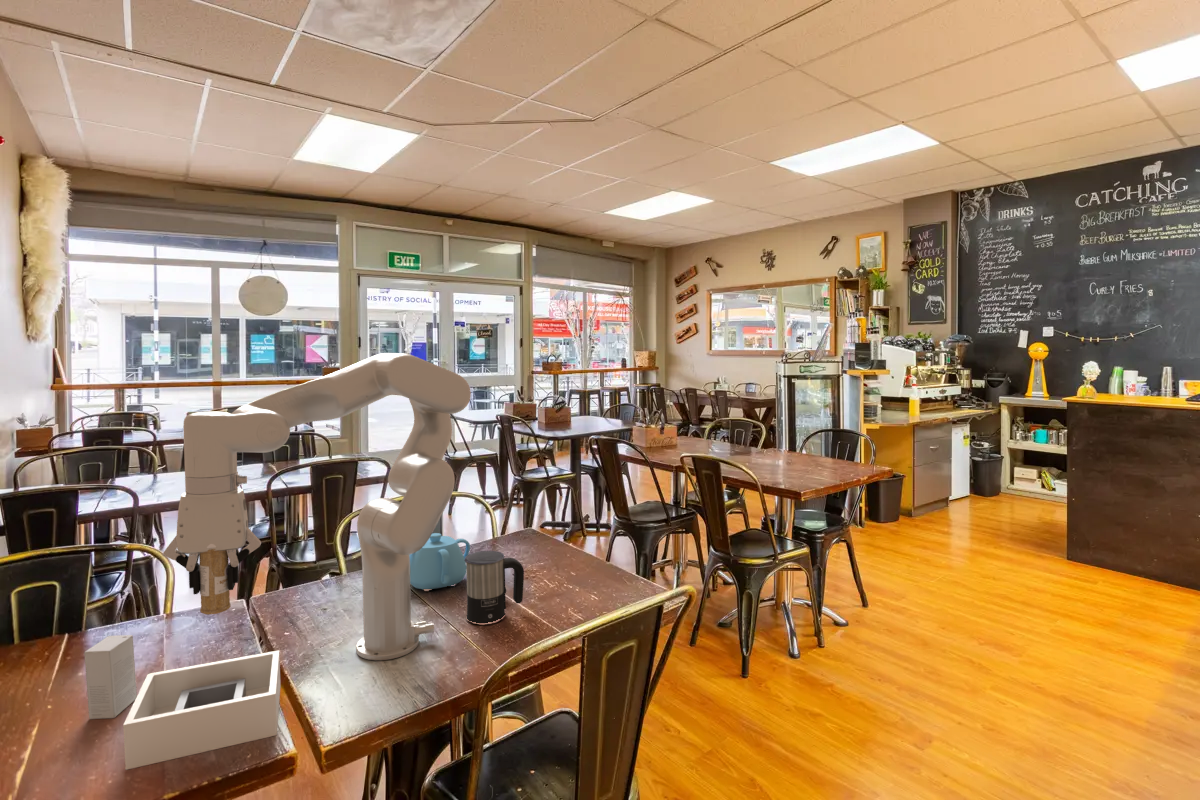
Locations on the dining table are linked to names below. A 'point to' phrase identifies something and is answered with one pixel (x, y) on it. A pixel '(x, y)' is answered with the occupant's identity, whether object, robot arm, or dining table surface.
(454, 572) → the decorative pot
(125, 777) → the dining table surface
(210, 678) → the divided box
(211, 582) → the sprinkles bottle
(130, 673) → the skincare box
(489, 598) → the milk frother
